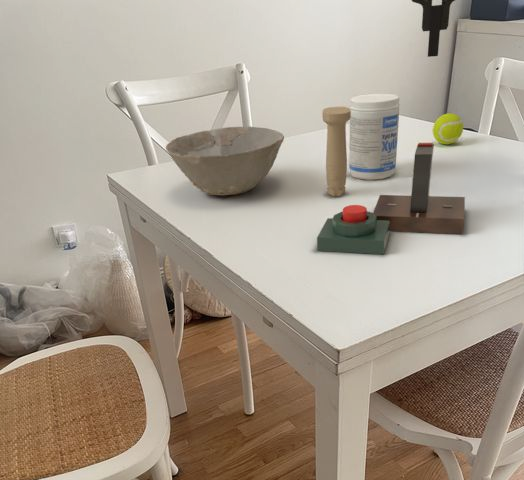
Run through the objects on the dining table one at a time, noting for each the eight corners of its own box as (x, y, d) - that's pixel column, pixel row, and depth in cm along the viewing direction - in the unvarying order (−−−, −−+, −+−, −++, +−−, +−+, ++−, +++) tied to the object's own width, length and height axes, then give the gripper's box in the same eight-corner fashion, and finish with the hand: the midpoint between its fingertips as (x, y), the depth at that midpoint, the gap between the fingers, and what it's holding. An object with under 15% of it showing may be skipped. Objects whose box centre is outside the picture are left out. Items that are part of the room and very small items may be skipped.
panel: (462, 211, 91) (464, 195, 90) (462, 234, 83) (464, 218, 82) (379, 208, 95) (379, 193, 94) (371, 230, 87) (371, 214, 86)
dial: (426, 212, 85) (432, 152, 80) (409, 212, 86) (414, 152, 81) (428, 199, 90) (434, 142, 85) (412, 199, 91) (417, 142, 85)
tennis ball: (460, 140, 128) (464, 110, 125) (462, 147, 123) (466, 116, 119) (431, 140, 130) (434, 110, 126) (431, 148, 125) (434, 117, 121)
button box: (389, 233, 86) (390, 209, 84) (383, 254, 80) (384, 229, 77) (327, 230, 89) (327, 207, 86) (317, 250, 83) (316, 226, 80)
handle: (347, 188, 106) (348, 105, 97) (350, 198, 100) (352, 113, 92) (322, 189, 106) (321, 107, 98) (324, 200, 101) (324, 115, 92)
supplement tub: (390, 182, 107) (395, 102, 98) (343, 180, 110) (344, 102, 102) (399, 168, 114) (404, 92, 106) (354, 166, 117) (356, 93, 109)
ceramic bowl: (307, 190, 106) (306, 137, 101) (203, 219, 98) (195, 163, 92) (252, 167, 123) (248, 120, 117) (158, 190, 114) (149, 141, 108)
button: (368, 216, 83) (368, 205, 82) (364, 224, 80) (364, 213, 79) (344, 215, 84) (345, 204, 83) (340, 223, 81) (340, 212, 80)
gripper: (500, -153, 71) (476, 49, 84) (399, -137, 75) (391, 55, 88) (504, -164, 65) (478, 55, 79) (394, -145, 69) (387, 61, 82)
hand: (432, 55), depth 83 cm, fingers closed
